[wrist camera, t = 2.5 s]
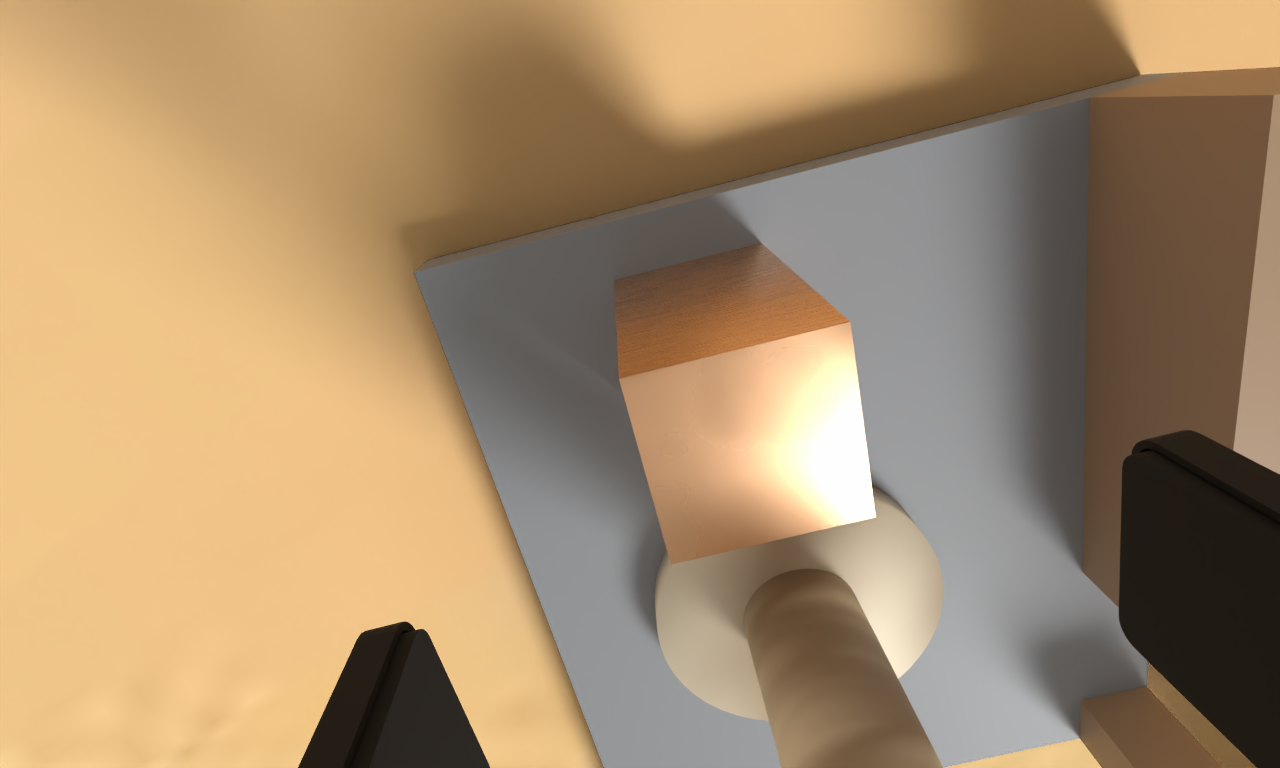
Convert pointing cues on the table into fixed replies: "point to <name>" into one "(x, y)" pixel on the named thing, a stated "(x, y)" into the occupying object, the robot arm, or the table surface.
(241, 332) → the table surface
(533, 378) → the grey board with ledge
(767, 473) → the copper block
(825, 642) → the bobbin
